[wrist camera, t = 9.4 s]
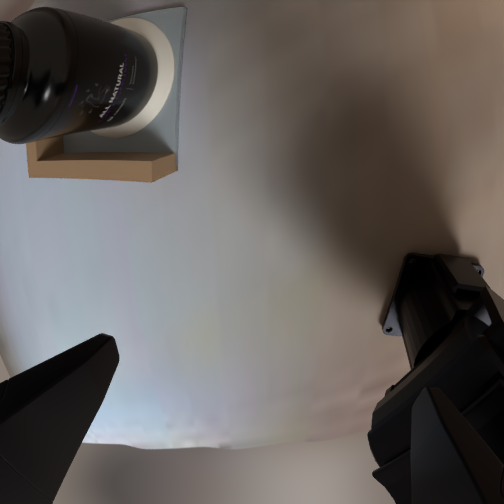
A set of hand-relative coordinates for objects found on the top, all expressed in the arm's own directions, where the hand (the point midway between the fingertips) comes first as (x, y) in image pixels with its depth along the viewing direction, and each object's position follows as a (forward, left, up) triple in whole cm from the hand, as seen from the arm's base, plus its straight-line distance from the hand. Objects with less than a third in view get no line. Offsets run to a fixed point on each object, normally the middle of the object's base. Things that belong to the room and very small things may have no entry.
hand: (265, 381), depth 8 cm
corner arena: (+8, +14, -13) cm, 20 cm away
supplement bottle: (+9, +12, -13) cm, 20 cm away
